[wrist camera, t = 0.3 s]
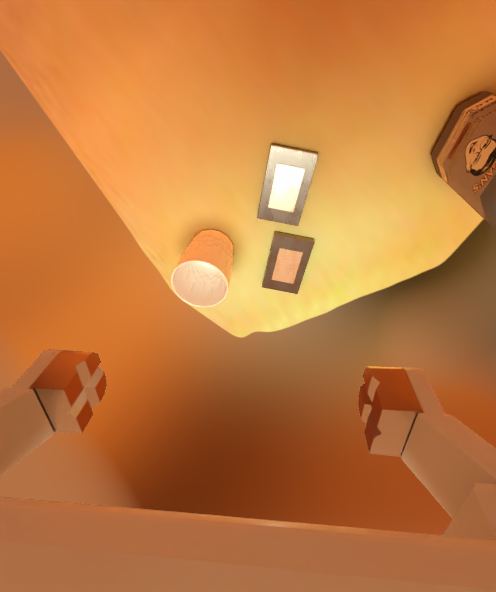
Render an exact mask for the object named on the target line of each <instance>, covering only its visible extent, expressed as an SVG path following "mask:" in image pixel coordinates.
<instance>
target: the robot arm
mask: <svg viewBox="0 0 496 592" xmlns="http://www.w3.org/2000/svg"><path fill="white" fill-rule="evenodd" d="M100 363H101V361H100V358H99V355H98V354H97V353H94V352H84V351H70V350H54V349H53V350H52V349H48V350H46V351H44V352H43V353H42V354H41V355H40V356H39V357H38V358H37V359H36V360H35V361H34V363H33V364H32V365H31V366H30V367H29V368H28V369H27V370H26V371H25V372H24V374H23V375H22V376H21V377H20V378H19V379H18V380H17V381H16V382H15V383H14V384H13V386H12V387H11V388H7V387H6V388H4V389H2V390H0V477H1V476H3V475H4V474H5V473H6V472H7V471H9V470H10V469H11V468H12V467H14V466H15V465H16V464H17V463H18V462H20V461H21V460H22V459H24V458H25V457H26V456H27V455H28V454H30V453H31V452H32V451H33V450H35V449H36V448H37V447H38V446H40V445H41V444H42V443H43V442H45V441H46V440H47V439H48V438H50V437H51V436H52V435H53V434H54V432H69V433H70V432H71V433H83V431H84V429H85V427H86V426H87V424H88V422H89V421H90V419H91V417H92V416H93V411H92V408H93V407H94V406H95V405H97V404H98V403H100V402H101V400H102V398H103V396H104V394H105V390H106V386H107V385H106V376H105V373H104V372H103V371H102V370H101V369H100V368H99V367H98V366H99V364H100ZM363 378H364V382H365V383H364V384H363V385H362V386H361V387H360V391H359V401H358V405H359V413H360V417H361V419H362V421H364V422H365V423H366V427H365V431H364V434H365V438H366V442H367V446H368V450H369V453H370V454H380V455H391V456H400V457H401V459H402V460H403V461H404V462H405V464H406V465H407V466H408V467H409V468H410V470H411V471H412V472H413V473H414V474H415V475H416V477H417V478H418V479H419V480H420V481H421V483H422V484H423V485H424V486H425V487H426V488H427V490H428V491H429V492H430V493H431V494H432V495H433V497H434V498H435V499H436V500H437V501H438V502H439V504H440V505H441V506H442V507H443V508H444V510H445V511H446V512H447V513H448V514H449V515H450V517H451V518H452V519H453V520H452V521H451V523H450V525H449V526H448V528H447V530H446V531H445V533H444V534H443V535H432V534H420V533H409V532H398V531H387V530H375V529H363V528H353V527H341V526H330V525H318V524H307V523H296V522H285V521H273V520H262V519H250V518H239V517H228V516H216V515H205V514H194V513H182V512H170V511H159V510H147V509H135V508H125V507H113V506H102V505H91V504H79V503H68V502H57V501H45V500H34V499H23V498H11V497H0V592H496V448H494V447H493V446H492V445H490V444H489V443H488V442H486V441H485V440H484V439H482V438H481V437H480V436H479V435H477V434H476V433H475V432H473V431H472V430H471V429H469V428H468V427H467V426H465V425H464V424H463V423H461V422H460V421H459V420H458V419H456V418H455V417H454V416H452V415H448V414H445V412H444V410H443V408H442V406H441V404H440V402H439V400H438V398H437V396H436V394H435V393H434V391H433V389H432V387H431V385H430V383H429V381H428V379H427V377H426V375H425V373H424V371H423V370H422V369H420V368H397V367H396V368H395V367H374V366H366V368H365V369H364V373H363Z"/></svg>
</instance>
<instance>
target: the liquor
mask: <svg viewBox="0 0 496 592" xmlns="http://www.w3.org/2000/svg"><path fill="white" fill-rule="evenodd" d="M431 156H432V159H433V163H434V166H435V169H436V172H437V174H438V175H439V176H440V177H441V178H442V179H443V180H444V181H445V182H446V183H447V184H448V185H449V186H450V187H451V188H452V189H453V190H454V191H456V192H457V193H458V194H459V195H460V196H461V197H462V198H463V199H464V200H465V201H466V202H467V203H468V204H469V205H470V206H471V207H472V208H473V209H474V210H475V211H476V212H477V213H478V214H479V215H480V216H482V217H483V218H484V219H485V220H486V221H487V222H488V223H489V224H490V225H491V226H492V227H493V228H495V229H496V95H495V94H491V93H488V92H482V93H480V94H478V95H477V96H475V97H473V98H471V99H469V100H468V101H466V102H464V103H462V104H460V105H458V106H457V107H456V109H455V111H454V113H453V114H452V116H451V118H450V120H449V122H448V124H447V125H446V127H445V129H444V131H443V133H442V135H441V137H440V138H439V140H438V142H437V144H436V146H435V148H434V149H433V151H432V153H431Z"/></svg>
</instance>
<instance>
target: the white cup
mask: <svg viewBox="0 0 496 592" xmlns="http://www.w3.org/2000/svg"><path fill="white" fill-rule="evenodd" d="M232 262H233V244H232V243H231V241H230V239H229V238H228V237H227V236H226V235H224V234H223V233H222V232H220V231H216V230H212V229H209V230H204V231H201V232H199V233H198V234H197V235H196V236H194V238H193V240H192V242H191V243H190V244H189V246H188V247H187V249H186V250H185V252H184V253H183V255H182V257H181V259H180V261H179V262H178V264H177V266H176V267H175V269H174V271H173V273H172V276H171V285H172V288H173V290H174V292H175V293H176V295H177V296H178V297H179V298H180V299H181V300H183V301H184V302H186V303H188V304H190V305H193V306H196V307H212V306H215V305H217V304H219V303H221V302H222V301H223V300H224V299H225V298H226V296H227V294H228V289H229V283H230V277H231V271H232Z"/></svg>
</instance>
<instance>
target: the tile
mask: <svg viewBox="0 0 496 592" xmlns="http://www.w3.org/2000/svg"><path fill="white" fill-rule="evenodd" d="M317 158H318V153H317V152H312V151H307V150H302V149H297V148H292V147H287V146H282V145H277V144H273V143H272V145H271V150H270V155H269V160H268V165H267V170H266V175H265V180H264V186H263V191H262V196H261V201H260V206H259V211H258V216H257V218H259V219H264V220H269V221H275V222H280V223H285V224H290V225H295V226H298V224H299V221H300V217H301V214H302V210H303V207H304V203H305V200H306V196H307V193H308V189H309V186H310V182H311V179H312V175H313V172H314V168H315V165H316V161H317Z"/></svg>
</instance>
